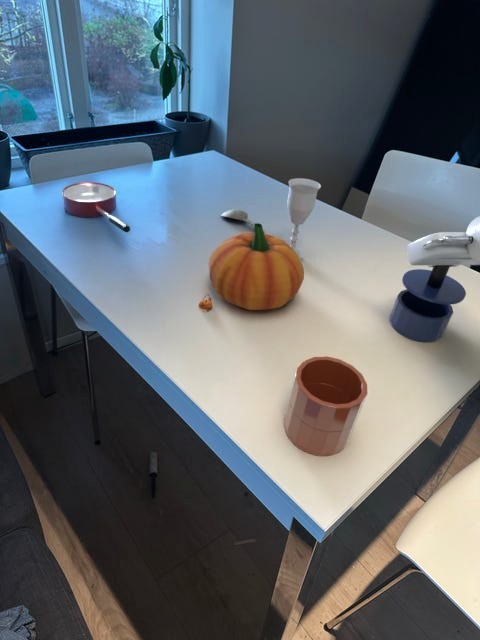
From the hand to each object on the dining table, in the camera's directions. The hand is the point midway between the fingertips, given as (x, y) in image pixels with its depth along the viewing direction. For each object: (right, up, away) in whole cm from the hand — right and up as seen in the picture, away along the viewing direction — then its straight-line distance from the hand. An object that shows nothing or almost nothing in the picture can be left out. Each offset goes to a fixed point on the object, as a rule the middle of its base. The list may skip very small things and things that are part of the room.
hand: (440, 262), depth 81 cm
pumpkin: (-34, -5, +12) cm, 36 cm away
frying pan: (-70, +14, +31) cm, 78 cm away
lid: (0, -4, +2) cm, 5 cm away
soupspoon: (-34, +13, +35) cm, 51 cm away
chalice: (-25, +4, +26) cm, 36 cm away
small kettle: (-43, -8, +6) cm, 45 cm away
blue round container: (-1, -12, +8) cm, 14 cm away
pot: (-25, -26, -15) cm, 40 cm away
